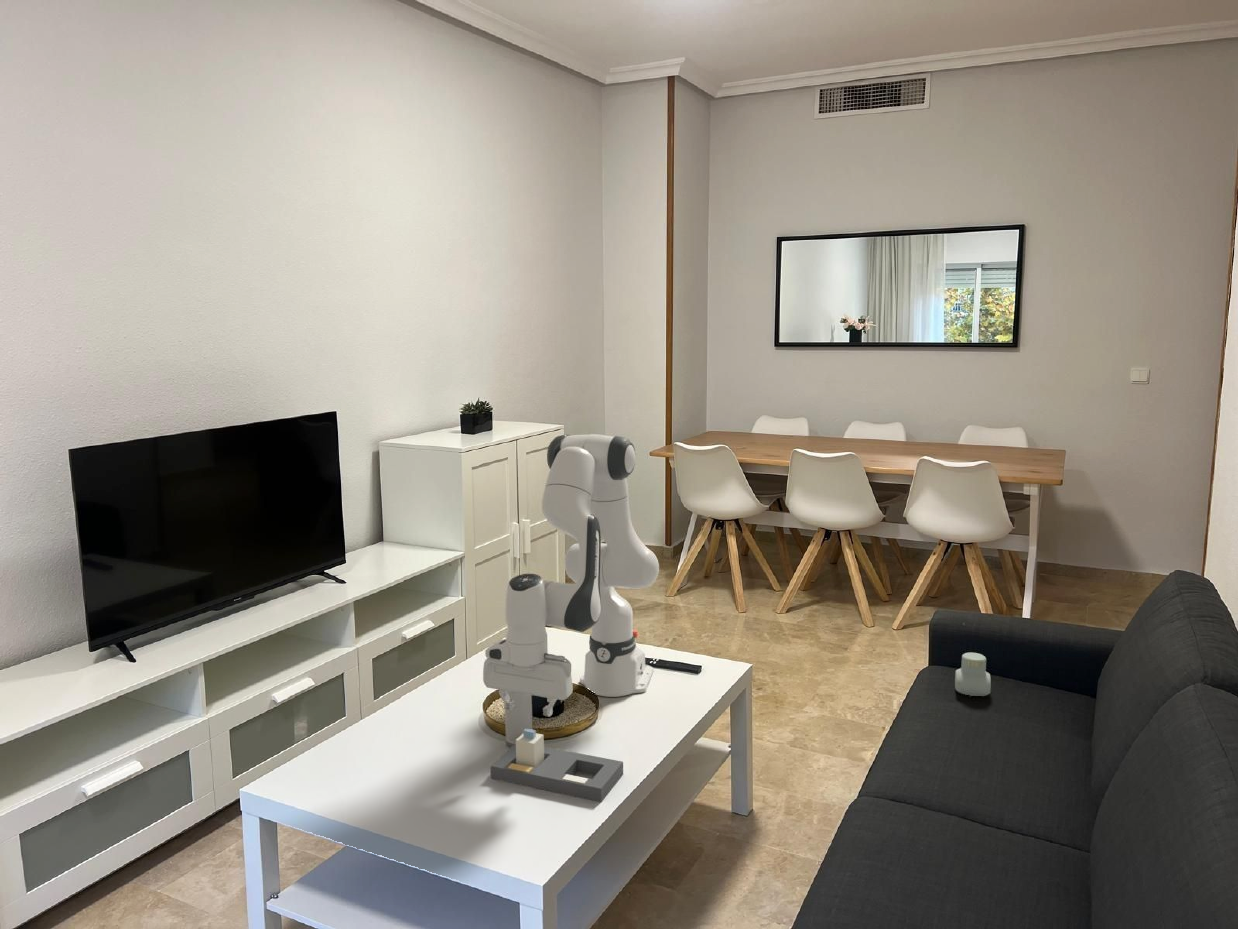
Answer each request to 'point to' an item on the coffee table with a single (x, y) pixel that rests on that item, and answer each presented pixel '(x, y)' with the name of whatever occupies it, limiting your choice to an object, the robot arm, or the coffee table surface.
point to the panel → (561, 773)
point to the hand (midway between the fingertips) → (528, 711)
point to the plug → (530, 748)
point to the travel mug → (518, 717)
